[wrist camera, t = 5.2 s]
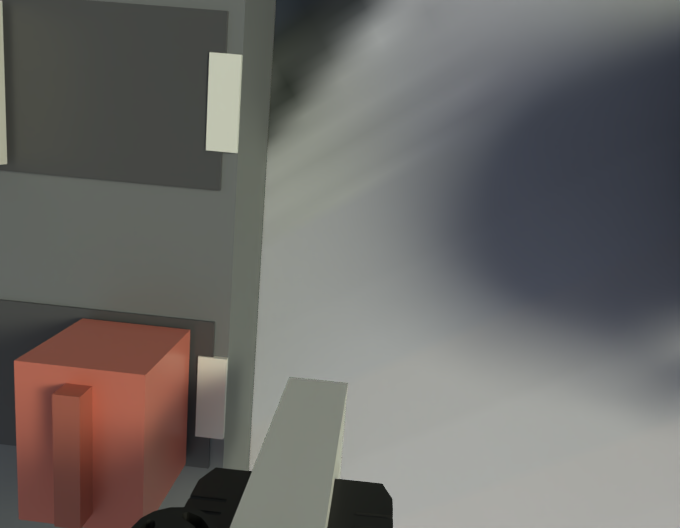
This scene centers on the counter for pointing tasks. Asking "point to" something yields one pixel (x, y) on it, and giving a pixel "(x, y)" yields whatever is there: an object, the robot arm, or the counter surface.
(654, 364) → the counter surface
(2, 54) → the slider
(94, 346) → the slider
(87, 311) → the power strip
